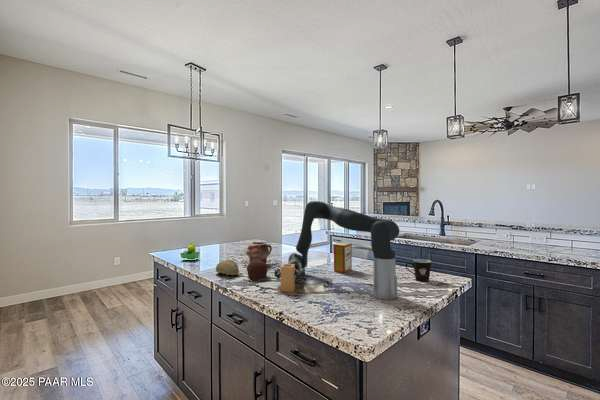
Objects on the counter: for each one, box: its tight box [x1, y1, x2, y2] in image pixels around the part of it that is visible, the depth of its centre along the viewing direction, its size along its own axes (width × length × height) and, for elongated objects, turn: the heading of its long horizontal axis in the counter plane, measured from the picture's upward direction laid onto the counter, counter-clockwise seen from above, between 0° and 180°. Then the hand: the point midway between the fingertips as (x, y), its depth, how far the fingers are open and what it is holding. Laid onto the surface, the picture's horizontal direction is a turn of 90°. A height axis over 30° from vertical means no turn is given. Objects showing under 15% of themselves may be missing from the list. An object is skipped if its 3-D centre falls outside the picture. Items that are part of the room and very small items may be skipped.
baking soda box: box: [333, 242, 353, 274], centre depth 177 cm, size 10×6×16 cm
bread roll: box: [215, 259, 240, 276], centre depth 172 cm, size 10×15×8 cm, turn 59°
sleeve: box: [280, 263, 296, 292], centre depth 139 cm, size 6×6×11 cm
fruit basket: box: [179, 242, 201, 259], centre depth 210 cm, size 11×9×11 cm
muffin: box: [246, 260, 269, 281], centre depth 160 cm, size 12×11×10 cm
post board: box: [276, 283, 328, 296], centre depth 139 cm, size 22×14×10 cm, turn 92°
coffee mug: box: [405, 258, 432, 283], centre depth 158 cm, size 12×9×10 cm
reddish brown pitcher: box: [245, 241, 273, 264], centre depth 195 cm, size 20×12×14 cm, turn 141°
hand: (287, 277), depth 138 cm, fingers open, 8 cm apart
